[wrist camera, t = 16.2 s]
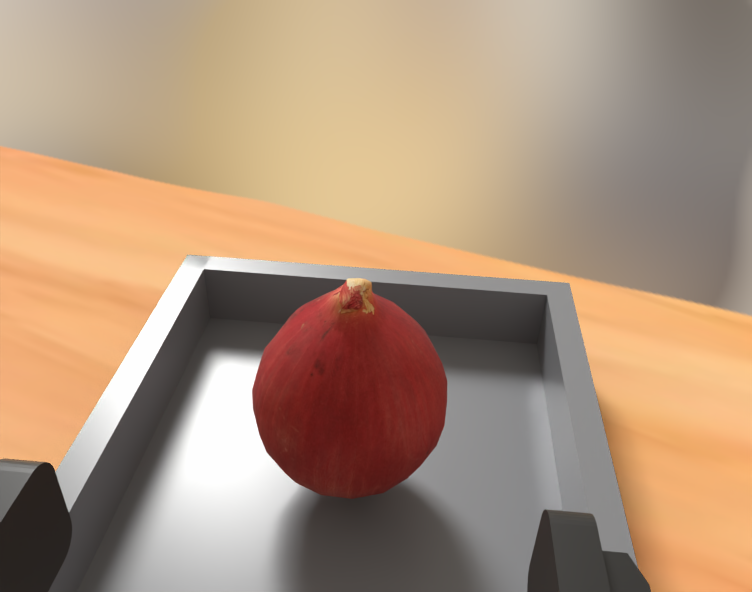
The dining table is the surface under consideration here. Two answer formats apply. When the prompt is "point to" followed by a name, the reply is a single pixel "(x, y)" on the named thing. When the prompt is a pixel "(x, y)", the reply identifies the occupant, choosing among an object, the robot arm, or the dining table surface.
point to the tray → (305, 507)
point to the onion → (350, 394)
